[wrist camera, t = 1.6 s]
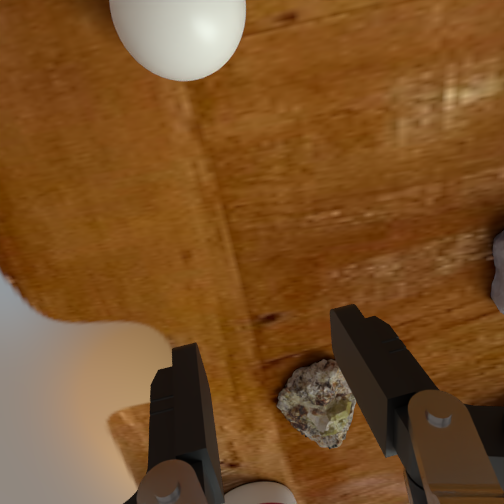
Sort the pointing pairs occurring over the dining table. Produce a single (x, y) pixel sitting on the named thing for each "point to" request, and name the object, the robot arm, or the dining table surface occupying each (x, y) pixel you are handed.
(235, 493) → the fruit juice
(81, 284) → the dining table surface
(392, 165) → the dining table surface
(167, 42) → the cue ball
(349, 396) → the mineral rock
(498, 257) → the stone block
